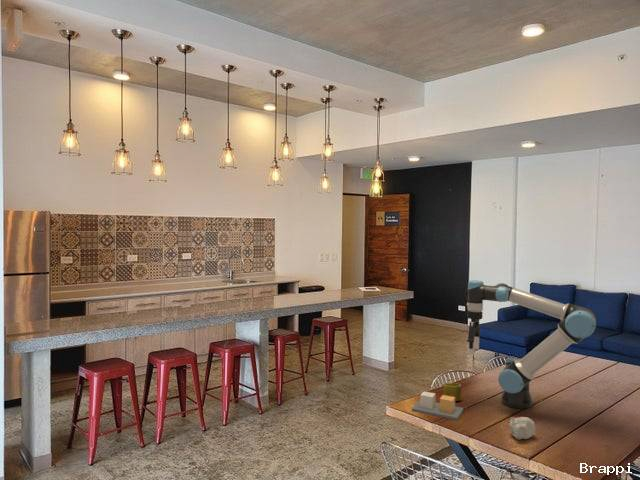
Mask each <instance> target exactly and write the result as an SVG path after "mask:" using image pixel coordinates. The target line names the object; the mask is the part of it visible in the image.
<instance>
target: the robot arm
mask: <svg viewBox="0 0 640 480" xmlns="http://www.w3.org/2000/svg"><path fill="white" fill-rule="evenodd" d="M484 301H489V302H490V301H491V302H499V303H506V302H511V303H513V304H516V305H518V306H522V307H523V308H527V309H530V310H534V311H536V312H539V313H542V314H545V315H548V316H550V317H553V318H556V319H559V320H560V322H559V323H557V329H555V331H553V332H552V333H551V334H550V335H549V336H547V337H546V338H545V339H544V340H543V341H541V342H540V343H539V344H537V346H535V347H534V348H533V349H532V350H531V351H529V352H528V353H527V354H526V355H524V356H523V357H522V358H515V357H508V358H506V359H505V362H504V363H505V367H504V368H503V369H502V370H501V371H500V373H499V374H498V378H497V381H498V384H499V386H500V388H501V389H502V390H503V391H502V393H501V396H500V403H501V404H503V405H505V406H506V407H510V408H514V409H520V410H521V409H522V410H523V409H524V410H525V409H530V408H533V405H534V404H533V398H532V395H531V392H530V383H531V381H533V380H534V375H535V374H536V373H537V372H539V371H540V370H541V369H542V368H544V366H546V365H547V364H548V363H549V362H551V361H552V360H553V359H555V358H556V357H557V356H559V354H561V353H562V352H563V351H565V350H566V349H567V348H568V347H569V346H571V345H572V344H577V345H578V344H579V343H581V342H582V341H583V340H584V339H585V338H589V337H590V336H591V335H592V334H593V333H594V332H595V330H596V327H597V317H596V314H595V313H594V312H593V311H592V310H590V309H589V308H586V307H582V306H578V305H576V304H572V303H566V304H565V303H562V302H559V301H555V300H553V299H549V298H548V297H547V298H546V297H544V296H540V295H537V294H534V293H532V292H528V291H525V290H523V289H520V288H515V287H512V286H509V285H508V284H506V283H503V282H502V283H497V284H495V285H485V284H484V281H482V280H469V281H468V282H467V303H466V306H467V307H466V309H467V312H466V318H467V319H469V320H470V321H469V326H468V327H469V328H468V336H467V339H466V343H468V345H467V347H468V348H467V350H468V351H467V352H468V353H467V355H468V356H475V350H479V349H480V337H481V336H482V334H481V327H480V320H482V319H483V310H484V308H483V307H484Z"/></svg>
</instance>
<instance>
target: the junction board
mask: <svg viewBox="0 0 640 480" xmlns="http://www.w3.org/2000/svg"><path fill="white" fill-rule="evenodd" d="M436 395H437V394H436V393H435V392H429V391H423V392H422V393H421V394H420V396H419V397H420V398H419V400H418V401H417V402H416V403H415V404H414V405H413V406H412V408H411V411H412V412H416V413H421V414H425V415H431V416H436V417H441V418H445V419H450V420H455V421H458V419H459V418H460V416H461V415H462V413H463V412H464V407H462V406H461V407H460V406H456V405H455V410H454V411H453V413H448V412H442V411H440V402H436V398H437V397H436Z"/></svg>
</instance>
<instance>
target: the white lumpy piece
mask: <svg viewBox="0 0 640 480" xmlns="http://www.w3.org/2000/svg"><path fill="white" fill-rule="evenodd" d="M509 420H510V421H509V432H510V434H511V436H512V437H515V439H516V440H522V439H523V440H527V439H530V438H531V437H532V436H533V435H534V434H535V433H536V424H535V422H534V421H533V419H531V418H530V417H528V416H520V415H517V416H515V417H511V418H510V419H509Z"/></svg>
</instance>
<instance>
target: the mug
mask: <svg viewBox="0 0 640 480" xmlns="http://www.w3.org/2000/svg"><path fill="white" fill-rule="evenodd" d="M442 392H443V395H446V396H451V397H455V402H460V401H462V385H461V384H460V383H458V382H452V381H447V382H444V383H443V385H442Z"/></svg>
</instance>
